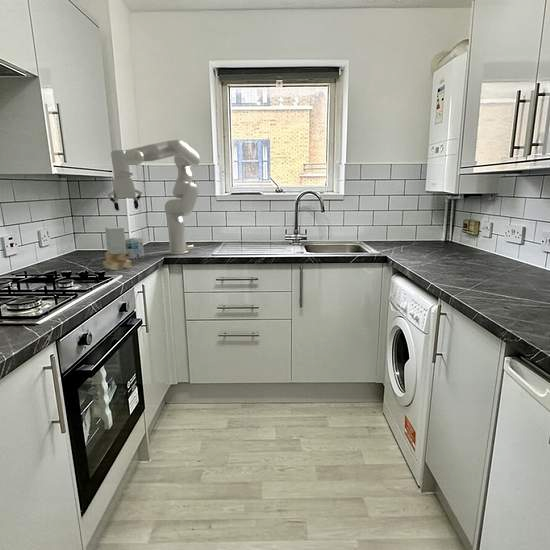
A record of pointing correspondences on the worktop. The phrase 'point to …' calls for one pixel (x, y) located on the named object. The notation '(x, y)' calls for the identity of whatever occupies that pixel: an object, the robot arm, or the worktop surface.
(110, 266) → the tower base block
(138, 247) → the light bulb box
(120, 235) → the supplement box
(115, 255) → the tower top block
